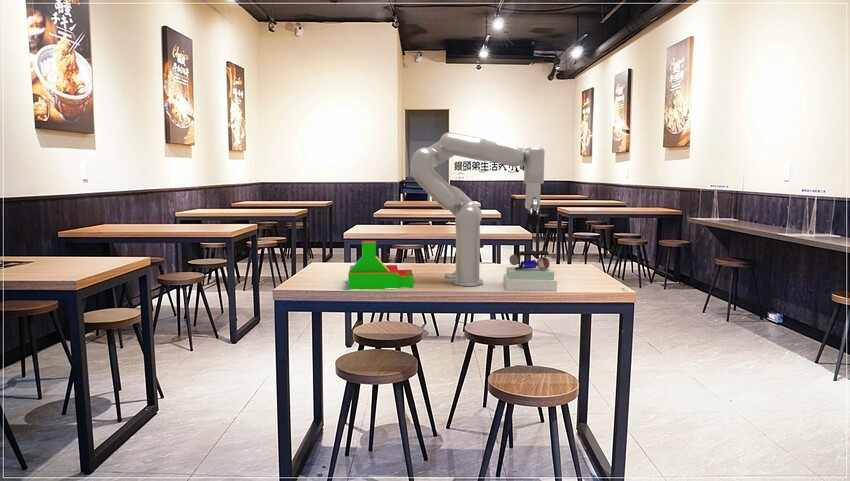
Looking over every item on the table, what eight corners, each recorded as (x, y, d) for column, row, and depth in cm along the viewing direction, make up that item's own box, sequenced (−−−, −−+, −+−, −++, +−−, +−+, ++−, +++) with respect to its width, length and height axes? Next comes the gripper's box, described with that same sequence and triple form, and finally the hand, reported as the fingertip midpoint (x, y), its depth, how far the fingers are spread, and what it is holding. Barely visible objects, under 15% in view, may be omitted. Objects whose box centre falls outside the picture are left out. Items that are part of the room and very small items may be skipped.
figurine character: (510, 274, 224) (550, 270, 222) (508, 254, 223) (548, 251, 221) (510, 271, 231) (549, 267, 229) (508, 252, 230) (547, 248, 228)
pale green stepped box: (506, 290, 221) (506, 272, 220) (503, 283, 234) (503, 266, 233) (556, 290, 220) (557, 272, 220) (551, 284, 233) (551, 267, 232)
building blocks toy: (414, 289, 224) (414, 242, 222) (348, 290, 222) (347, 243, 220) (411, 280, 242) (411, 236, 240) (350, 281, 240) (350, 237, 238)
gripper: (522, 179, 234) (521, 221, 236) (525, 180, 216) (524, 225, 218) (541, 179, 233) (539, 222, 235) (546, 180, 216) (544, 226, 218)
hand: (532, 223), depth 227 cm, fingers open, 9 cm apart
